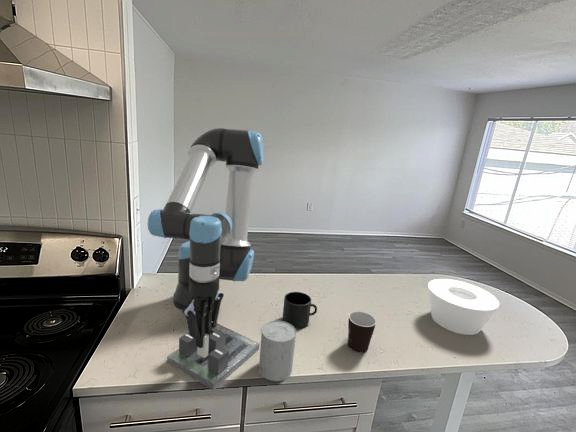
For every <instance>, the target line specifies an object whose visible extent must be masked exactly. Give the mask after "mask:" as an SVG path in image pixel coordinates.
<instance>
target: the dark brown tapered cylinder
mask: <svg viewBox="0 0 576 432" xmlns="http://www.w3.org/2000/svg"><path fill="white" fill-rule="evenodd" d="M376 325H377V319H376V318H375V317H374V316H373V315H372V314H370V313H368V312H365V311H360V310H358V311H357V310H356V311H351V312H350V313H349V314H348V327H347V329H348V331H347V345H348V346H347V347H348V349H350V350H352V351H353V352H355V353H359V354H361V353H366V352H367V351H368V350H369V346H370V344H371V341H372V338H373V335H374V331H375V327H376Z"/></svg>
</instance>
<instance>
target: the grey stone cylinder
mask: <svg viewBox="0 0 576 432" xmlns="http://www.w3.org/2000/svg"><path fill="white" fill-rule="evenodd" d="M296 329H297V328H295V327H294V326H293V325H291V324H289V323H287V322H284V321H283V320H271V321H268V322H265V324H263V326H262V327H261V335H260V337H261V338H260V347H259V361H258V362H259V364H258V371H259V374H260V375H261V376H262V377H263V378H264V379H266V380H268V381H272V382H281V381H285V380H286V379H288V378H289V377H290V376H291V375H292V373H293V364H294V356H295V355H294V354H295V347H296V337H297V330H296Z"/></svg>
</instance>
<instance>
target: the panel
mask: <svg viewBox="0 0 576 432" xmlns="http://www.w3.org/2000/svg"><path fill="white" fill-rule="evenodd" d="M216 330H218V331H220V332H222V333H224V334H226V335H225V348H224V349H226V350H228V351H229V358H228V366H227V367H226V368H224V369H223V370H222V371H221V372H220V373H219V374H217V373H215V372H214V371H212V370H210V369H208V356H207V357H205V358H203V357H201V356H200V355H198V354H197V351H195V352H194V353H193V354H191V355H190V356H188V357H187V356H186V355H184V354H182V353H180V352H179V348H178V349H176V350H175V351H173V352H172V353H170V354H169V355H167V357H166V358H167V359H166V361H167V363H168V364H169V365H171V366H172V367H174V368H176V369H178V370H179V371H181V372H182V373H184V374H185V375H188V376H189V377H190V378H193V380H195V381H197V382H199V383H200V384H202V385H204V386H206V388H209V389H210V390H212V391H214V390H215V389H217V388H218V386H220V385H221V384H222V383H223V382H224V381H225V380H227V379H228V378H229V377H230V376H231V375H232V374H234V373H235V372H236V371H237V370H238V369H239V368H240V367H242V365H243V364H244V363H245V362H246V361H248V360H249V359H250V358H251V357H252V356H254V354H256V353H257V352H258V351H260V345H261V342H260V343H259V342H257V341H255V340H254V339H252V338H249V337H247V336H245V335H243V334H241V333H239V332H236V331H234V330H232V329H230V328H228V327H227V326H224V325H222V324H219V323H218V322H217V324H216V327H215V328H212V331H216ZM209 353H210V352H209V351H208V355H209Z"/></svg>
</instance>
